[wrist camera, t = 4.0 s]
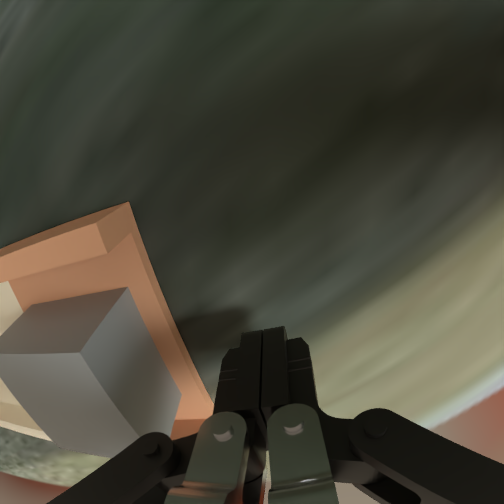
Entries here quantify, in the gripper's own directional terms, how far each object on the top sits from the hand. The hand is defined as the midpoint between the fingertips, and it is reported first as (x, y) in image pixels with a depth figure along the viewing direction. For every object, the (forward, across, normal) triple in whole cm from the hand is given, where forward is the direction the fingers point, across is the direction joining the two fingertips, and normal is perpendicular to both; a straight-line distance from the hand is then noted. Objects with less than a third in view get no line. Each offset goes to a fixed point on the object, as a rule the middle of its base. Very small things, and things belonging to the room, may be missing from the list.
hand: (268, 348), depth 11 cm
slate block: (+1, +8, 0) cm, 8 cm away
